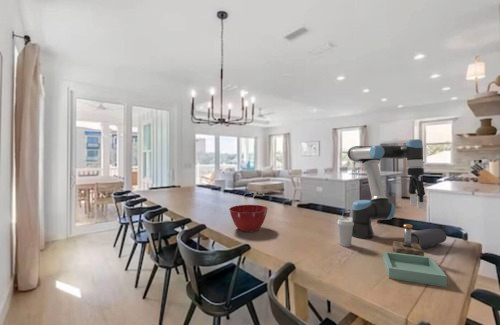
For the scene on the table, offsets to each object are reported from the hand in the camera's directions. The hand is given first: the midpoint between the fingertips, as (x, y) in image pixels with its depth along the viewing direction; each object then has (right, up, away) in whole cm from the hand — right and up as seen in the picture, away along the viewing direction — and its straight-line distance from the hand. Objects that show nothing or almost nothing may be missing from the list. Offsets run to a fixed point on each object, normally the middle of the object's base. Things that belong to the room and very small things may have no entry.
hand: (417, 207), depth 137 cm
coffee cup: (-33, -26, +16) cm, 45 cm away
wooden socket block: (-7, -26, -3) cm, 27 cm away
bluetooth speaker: (+14, -26, +13) cm, 32 cm away
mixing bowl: (-92, -25, +49) cm, 107 cm away
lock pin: (-7, -24, -3) cm, 25 cm away
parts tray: (-16, -27, -20) cm, 37 cm away
